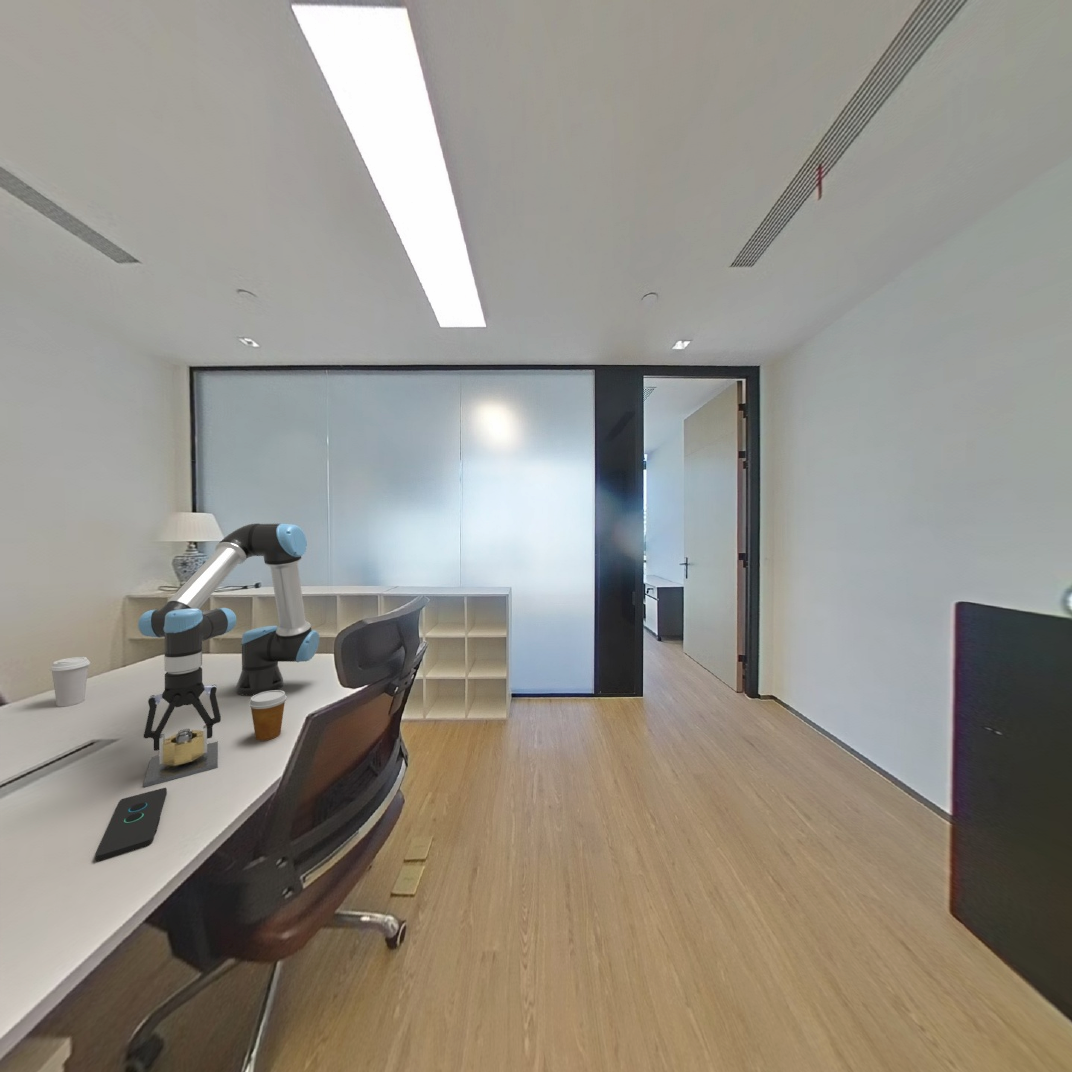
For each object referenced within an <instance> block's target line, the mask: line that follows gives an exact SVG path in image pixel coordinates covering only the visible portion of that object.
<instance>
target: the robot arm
mask: <svg viewBox="0 0 1072 1072" xmlns="http://www.w3.org/2000/svg"><path fill="white" fill-rule="evenodd" d="M307 545H308V544H307V536H306V534H305V532H304V530H303V529H302V528H301V527H300V526H298V525H297V524H293V523H292V524H290V523H250V524H247V525H243V526H241V527H239V528H237V529H235V530H234V531H232V532H230V533H229V534H228V535H227V536H225V537H224V538H223V539H222V540H220V541H219V543H218V544H217V545H215V548H214V549H215V551H214V552H213V553H212V554H211V555H210V557H209V558H207V560H206V561H205V562H203V564H202V565H201V566H200V567H199V568H198V569H197V570H196V571H195V572H194V574H193V575H191V576H190V578H189V579H188V580H186V582H185V583H183V585H181V587H180V588H179V589H178V590H177V591H176V592H175V593H174V594H173V595H172V596H171V597H170V599H168V600H167V602H166V603H165V604H163V606H162V607H161V608H160V609H157V608H156V609H151V610H147V611H146V612H144V613H143V614H142V615H140V617H139V619H138V622H137V623H138V624H137V628H138V631H139V632H140V634H142V635H143V636H145V637H151V638H164V658H163V659H164V671H165V673H164V690H163V692H162V693H159V694H157V695H154V694H153V695H150V696H149V697H148V700H147V702H148V706H149V710H148V714H147V718H146V724H145V728H144V731H143V732H144V733H143V738H144V739H152V740H153V751H154V752H156V751H158V752H159V753H158V754H159V755H158V756H159V764H162V763H163V744H164V740H165V733H163V731H164V729H165V727H166V725H167V723H168V721H169V719H170V717H171V716H172V714H173V712H174V710H175V708H181V707H182V706H193V707H194V708H195V710H196V712H197V714H198V715H199V716H200V718H201V720H202V721H203V723H204V724H203V726H202V728H203V729H202V731H203V737H204V753H207V744H208V739H211V738H213V726H214V725H215V724H218V723H220V722H221V718H222V717H221V712H220V707H219V703H218V699H217V694H216V693H217V688H218V687H217V684H212V685H207V686H206V685H204V683H203V667H202V665H203V642H204V641H206V640H211V639H213V638H216V637H219V636H223V635H225V634H226V633H229V632H231V631H232V630H233V629H234V628H235V627H236V624H237V616H236V613H235V612H234V611H233V610H232V609H230V608H228V607H221V608H219V607H218V608H214V609H212V610H211V609H210V610H209V609H208V610H202V609H201V607H202V606H203V605H204V604H205V602H206V601H207V600H208V599H209V598H210V597H211V596H212V595H213V593H214V592H215V591H216V590H217V589H218V588H219V586H220V585H221V584H222V583H223V582H224V581H225V580H226V579H227V577H228V576H229V575H230V574H231V572H232V571H234V569H235V568H236V567H237V565H241V564H243V563H244V562H245V561H246V560H247V559H248V558H250V557H263V560H264V565H266V566H268V567H269V568H270V572H271V579H272V585H273V586H272V587H273V591H274V598H275V604H276V609H277V616H278V617H277V618H278V623H279V626H278V625H267V626H261V627H257V628H252V629H249V630H246V631H244V633H242V636H241V643H240V645H241V673H240V676H239V678H238V679H237V680H238V681H237V683H236V687H235V688H236V689H235V690H236V691H235V692H236V694H237V695H240V696H254V695H256V694H259V693H262V692H266V691H272V690H280V689H281V688H282V687H283V685H284V677H283V675H282V672H281V669H280V668H279V665H278V664H279V663H281V662H283V663H284V662H285V663H287V662H288V663H292V662H293V663H295V662H296V663H300V662H308V661H310V660H312V659H313V657H315V654H316V652H317V651H318V648H319V645H320V634H319V632H318V631H317V630H314V629H313V630H312V624H311V623H310V622H309V621H307V620H306V614H305V613H306V611H305V607H304V599H303V593H302V587H301V578H300V571H299V565H298V564H299V562H300V561H301V560H302V556H303V555H304V554H305V553H306V552H307V551H306V550H307ZM204 692H206V693H205V694H206V695H207V696H209V702H210V705H211V709H212V713H213V717H211V716H210V714H209V712H208V711H207V709H206V707H205V706H204V705H203V703H202V702H201V699H200V696H201V695H202V694H203V693H204ZM161 700H164V701H166V702H167V703H168V706H167V708H166V710H165V712H164V714H163V715H162V716H161V717H162V718H161V719H160V722H159V724H158V725H157V727H156V729H155V730H153V725H154V722H155V721H154V720H155V717H156V716H155V715H156V712H157V707H158V705H159V704H160V703H161Z"/></svg>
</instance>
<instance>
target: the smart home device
mask: <svg viewBox="0 0 1072 1072" xmlns="http://www.w3.org/2000/svg"><path fill="white" fill-rule="evenodd" d="M167 790H168V788H167V787H162V788H158V789H155V790H151V791H146V792H144V793H143V792H142V793H138V794H135V795H131V796H128V797H124V798H121V799H120V800H119V801H118V803H117V806H116V808H115V810H114V812H113V814H112V816H111V819H110V821H109V822H108V825H107V827H106V830H105V832H104V835H103V836H102V839H101V840H100V843H99V845H98V847H97V850H96V851H95V855H94V856H95V862H96V863H97V862H101V861H104V860H108V859H111V858H114V857H117V856H121V855H123V854H126V853H129V852H133V851H136V850H140V849H143V848H145V847H149V846H150V845H152V844H153V843H154V840H155V836H156V834H157V831H158V829H159V828H158V827H159V825H160V820H161V816H162V811H163V809H164V805H165V802H166V797H167V794H168V791H167Z"/></svg>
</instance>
